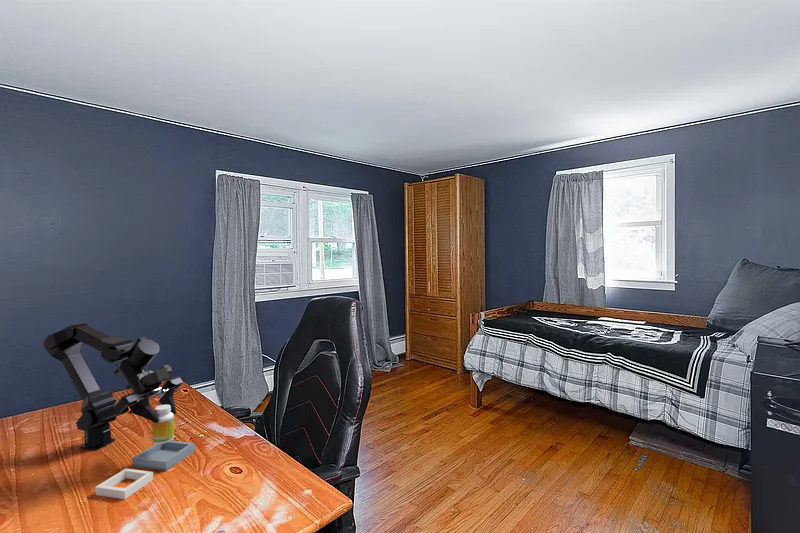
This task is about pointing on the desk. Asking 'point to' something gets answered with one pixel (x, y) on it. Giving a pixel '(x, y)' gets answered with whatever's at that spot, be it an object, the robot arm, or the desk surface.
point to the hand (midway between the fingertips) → (166, 418)
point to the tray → (163, 455)
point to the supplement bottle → (163, 425)
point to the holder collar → (123, 493)
